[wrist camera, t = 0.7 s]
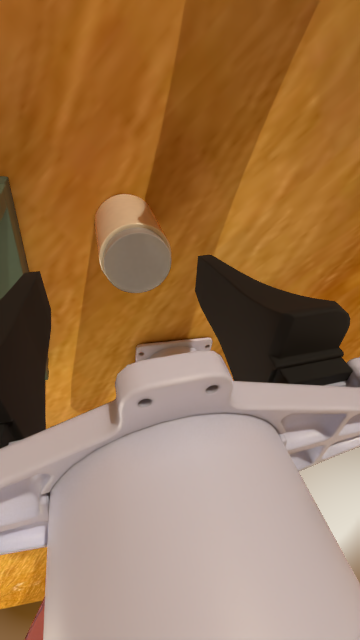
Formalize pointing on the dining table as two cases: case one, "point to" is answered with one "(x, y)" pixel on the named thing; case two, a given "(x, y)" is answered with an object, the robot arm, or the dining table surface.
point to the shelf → (10, 244)
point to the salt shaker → (131, 244)
